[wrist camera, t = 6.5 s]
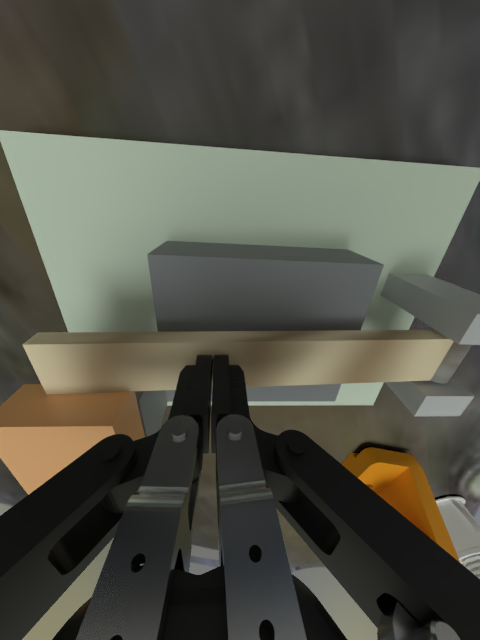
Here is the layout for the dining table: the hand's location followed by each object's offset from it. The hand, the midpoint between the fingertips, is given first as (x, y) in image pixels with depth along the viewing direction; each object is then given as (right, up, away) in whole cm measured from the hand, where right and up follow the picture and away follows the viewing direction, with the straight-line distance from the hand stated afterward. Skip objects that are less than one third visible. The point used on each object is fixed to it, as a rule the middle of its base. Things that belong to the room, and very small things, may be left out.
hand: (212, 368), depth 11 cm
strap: (+3, +1, +2) cm, 3 cm away
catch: (-7, -4, +2) cm, 9 cm away
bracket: (+19, -18, +21) cm, 34 cm away
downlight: (+36, -29, +28) cm, 54 cm away
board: (+2, +4, +7) cm, 9 cm away
